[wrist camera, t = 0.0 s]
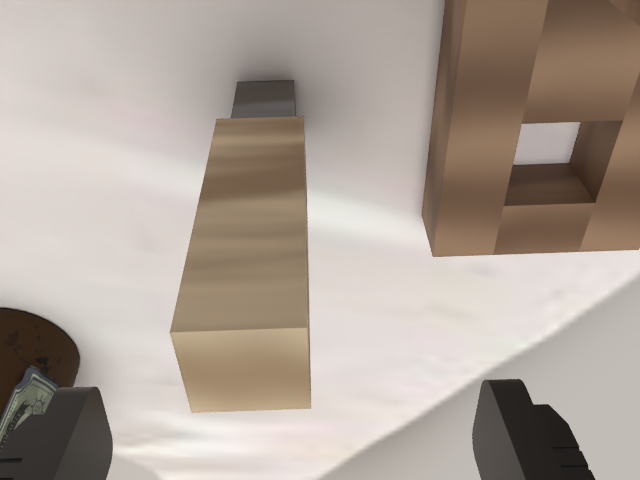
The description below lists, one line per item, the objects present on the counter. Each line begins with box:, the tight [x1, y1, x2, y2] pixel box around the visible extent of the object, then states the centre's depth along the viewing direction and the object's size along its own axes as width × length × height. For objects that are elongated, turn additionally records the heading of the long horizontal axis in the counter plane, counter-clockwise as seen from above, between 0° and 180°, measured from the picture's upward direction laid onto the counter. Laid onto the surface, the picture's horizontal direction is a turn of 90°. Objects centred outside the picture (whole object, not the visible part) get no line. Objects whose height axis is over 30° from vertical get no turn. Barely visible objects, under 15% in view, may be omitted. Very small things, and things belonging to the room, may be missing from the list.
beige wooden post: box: [170, 80, 311, 413], centre depth 26 cm, size 4×4×18 cm
